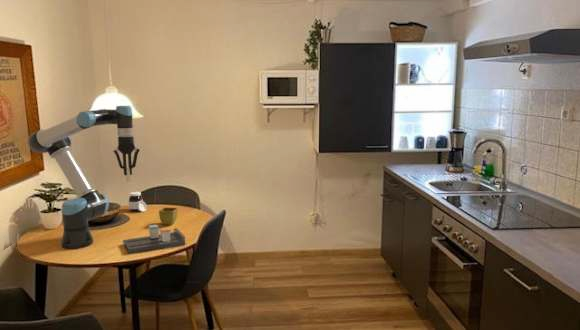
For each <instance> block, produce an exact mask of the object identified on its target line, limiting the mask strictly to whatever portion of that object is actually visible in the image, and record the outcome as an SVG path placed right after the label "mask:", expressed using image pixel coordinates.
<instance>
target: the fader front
mask: <svg viewBox="0 0 580 330" xmlns="http://www.w3.org/2000/svg"><path fill="white" fill-rule="evenodd" d="M170 233H171V228H169V227H161V228H160V227H159V235H160V234H161V241H162V242H165V241H170Z"/></svg>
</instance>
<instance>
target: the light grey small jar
mask: <svg viewBox="0 0 580 330" xmlns="http://www.w3.org/2000/svg"><path fill="white" fill-rule="evenodd" d="M148 231H149V233H148V234H149V235H148V236H150V238H151V239H152V238H159V235H160V227H159V225H158V224H152V225H151V224H150V225H148Z"/></svg>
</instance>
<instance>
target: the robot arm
mask: <svg viewBox="0 0 580 330" xmlns="http://www.w3.org/2000/svg"><path fill="white" fill-rule="evenodd" d="M105 125H116V127H117V128H116V129H117V136H118V137H117V142H118V145H117V148H116V149H114V150H112V151H113V153H114V154H115V157H116V159H117V162H118V165H119V168H120V169H123V175H124V176H125V178H126V182H127V183H130V182H131V176H132V175H133V169H134V168H135V167H136V165H137V159H138V155H139V152H140V151H141V150H140V149H139V148H137V147H136V146H135V141H134V140H135V139H134V126H133V109H132V106H130V105H116V107H115V109H106V108H102V109H97V110H96V109H95V110H84V111H83V110H82V111H80V112H79V113H78V114H77V115H76V116H73V117H71V118H70V119H67V120H65V121H63V122H60V123H58V124H56V125H55V124H54V125H53V126H51V127H48V128H45V129H44V128H43V129H39V130H37V131H33V132H32V133H30V135H29V136H28V138H27V145H28V148H30V149H31V151H33V152H35V153H37V154H46V153H48V156H49V157H50V158H52V159H55V161H56V162H57V164H58V166H59V168H60V170H61V171H62V173H63V174H64V176H65V178H66V179H67V181H68V183H69V185H70V186H71V188H72V190H73V191H74V193H75V194H76V197H74V198H70V199H68V200H65V201H64V202H63V203H62V205H61V213H62V215H61V217H62V224H63V225H62V226H63V234H62V238H61V241H60V244H61V248H63V249H65V250H66V249H67V250H75V249H82V248H87V247H89V246H91V245H92V244H93V243H94V238H93V235H92V233H91V231H90V228H89V221H92V220H93V219H97V218H100V217H102V216H104V215H105V214H106V213H107V212H108V210H109V207H110V202H109V199H108V197H107V196H106V195H104V194H102V193H100V192H99V191H98V189H96V188H93V187H92V185H91V184H90V181H89V180H88V179H87V177H86V175H85V173H84V172H83V170H82V169H81V167H80V165H79V163H78V162H77V160H76V158H75V157H74V155H73V153H72V152H71V151H72V144H73V143H72V136H74V135H75V134H77V133H80V132H82V131H85V130H87V129H90V128H92V127H96V126H105ZM133 151H134V153H133ZM119 153H121V154H122V161H121V157H120V155H119ZM132 153H133V159H132ZM127 164H128V166H127ZM127 167H128V168H127Z"/></svg>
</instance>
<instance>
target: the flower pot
mask: <svg viewBox="0 0 580 330" xmlns="http://www.w3.org/2000/svg"><path fill="white" fill-rule="evenodd" d="M178 208H179V207H162V208H161V209H160V210H158V216H159V219H160V222H161V224H162V225H163V226H164V225H165V226H172V225H174V224H175V222H176V220H177V216H178Z"/></svg>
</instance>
